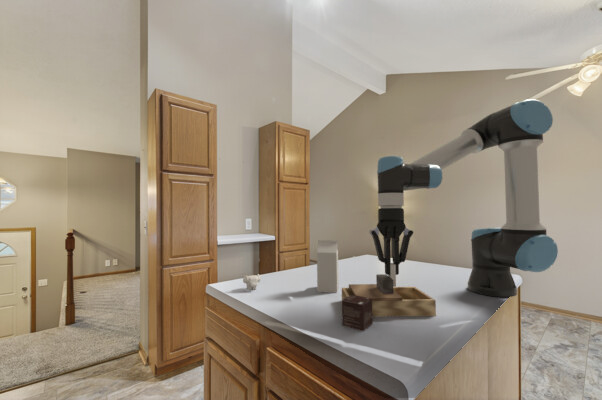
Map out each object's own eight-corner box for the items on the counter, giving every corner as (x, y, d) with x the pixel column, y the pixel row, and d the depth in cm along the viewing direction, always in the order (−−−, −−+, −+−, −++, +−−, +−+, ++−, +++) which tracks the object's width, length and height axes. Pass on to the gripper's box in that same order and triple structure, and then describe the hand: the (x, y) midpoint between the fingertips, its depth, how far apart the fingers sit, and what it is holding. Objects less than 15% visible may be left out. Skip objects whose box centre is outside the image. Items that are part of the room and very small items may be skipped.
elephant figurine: (245, 293, 105) (245, 277, 106) (240, 288, 113) (240, 272, 113) (263, 291, 108) (263, 275, 109) (257, 286, 116) (257, 271, 116)
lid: (385, 286, 94) (385, 271, 94) (402, 300, 79) (401, 283, 80) (348, 286, 94) (348, 272, 94) (358, 301, 79) (358, 283, 79)
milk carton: (337, 294, 103) (336, 241, 103) (317, 293, 104) (316, 241, 105) (338, 289, 110) (337, 239, 110) (320, 288, 111) (319, 239, 112)
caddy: (415, 302, 94) (414, 286, 94) (435, 318, 80) (435, 300, 80) (341, 303, 93) (341, 287, 94) (349, 319, 79) (349, 301, 80)
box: (352, 321, 78) (351, 294, 78) (373, 326, 75) (372, 298, 75) (341, 329, 73) (341, 300, 74) (363, 334, 70) (363, 304, 70)
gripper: (407, 207, 92) (408, 282, 91) (366, 207, 91) (367, 282, 91) (417, 207, 84) (418, 288, 83) (372, 207, 84) (373, 289, 83)
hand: (392, 285), depth 87 cm, fingers closed
